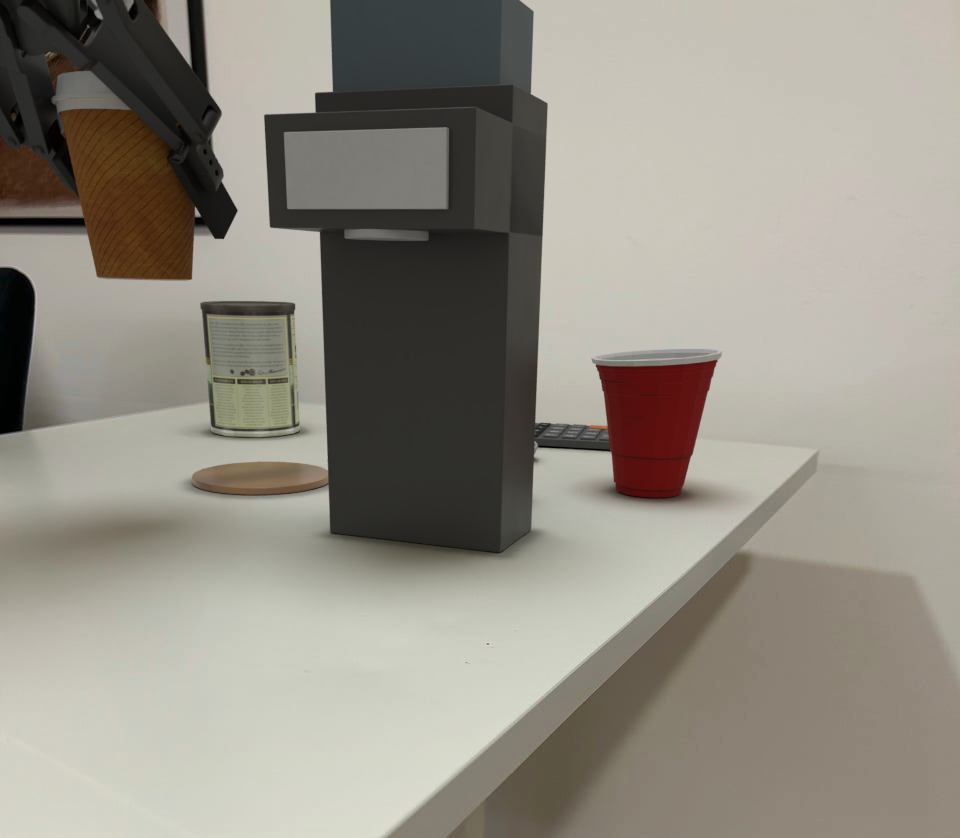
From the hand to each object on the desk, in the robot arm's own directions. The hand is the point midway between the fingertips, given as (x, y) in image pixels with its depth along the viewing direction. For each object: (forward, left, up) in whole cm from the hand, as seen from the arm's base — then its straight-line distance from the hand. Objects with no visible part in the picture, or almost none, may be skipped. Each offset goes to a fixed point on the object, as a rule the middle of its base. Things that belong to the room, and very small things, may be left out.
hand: (171, 223), depth 70 cm
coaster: (-3, +11, -21) cm, 24 cm away
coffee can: (-23, +32, -21) cm, 45 cm away
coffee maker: (+20, +1, -21) cm, 29 cm away
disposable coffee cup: (0, -3, -4) cm, 5 cm away
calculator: (+8, +48, -21) cm, 53 cm away
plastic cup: (+27, +27, -21) cm, 43 cm away
